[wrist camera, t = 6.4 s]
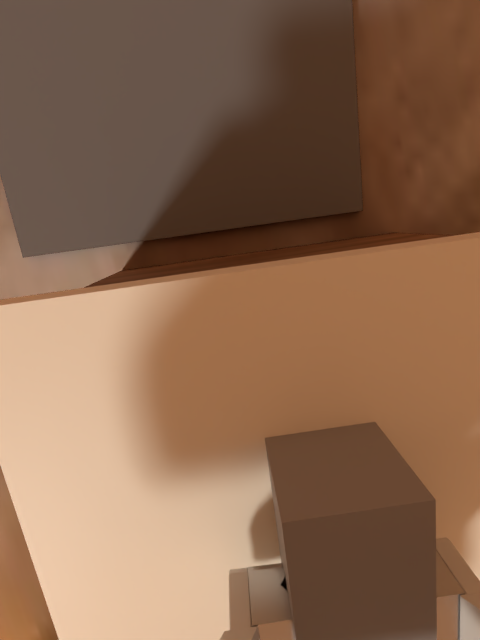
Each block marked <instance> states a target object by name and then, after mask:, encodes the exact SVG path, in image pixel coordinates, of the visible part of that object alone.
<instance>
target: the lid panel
mask: <svg viewBox="0 0 480 640" xmlns="http://www.w3.org/2000/svg"><path fill="white" fill-rule="evenodd" d="M0 465H1V468H2V471H3V474H4V477H5V480H6V483H7V486H8V489H9V492H10V495H11V498H12V501H13V504H14V507H15V510H16V513H17V516H18V519H19V522H20V525H21V528H22V531H23V534H24V537H25V540H26V543H27V546H28V549H29V552H30V555H31V558H32V561H33V564H34V567H35V570H36V573H37V576H38V579H39V582H40V585H41V588H42V591H43V594H44V597H45V600H46V603H47V605H48V608H49V611H50V614H51V617H52V620H53V623H54V626H55V629H56V632H57V635H58V638H59V640H220V638H221V636H222V634H223V632H224V631H228V630H230V621H229V570H231V569H239V568H246V567H247V568H248V567H252V566H261V565H269V564H277V563H283V567H284V573H285V579H286V587H287V592H288V595H289V601H290V606H291V612H292V617H293V624H294V632H295V640H437V597H436V539H439V538H445V537H446V538H448V539H449V540H450V541H451V542H452V544H453V545H454V546H455V548H456V549H457V550H458V552H459V553H460V555H461V556H462V557H463V559H464V560H465V561H466V563H467V564H468V565H469V567H470V568H471V570H472V571H473V572H474V574H475V575H476V576H477V578H478V579H479V581H480V232H476V233H469V234H462V235H455V236H448V237H441V238H434V239H427V240H420V241H413V242H406V243H398V244H391V245H384V246H377V247H370V248H363V249H356V250H349V251H342V252H335V253H328V254H321V255H313V256H306V257H299V258H292V259H285V260H278V261H271V262H264V263H257V264H250V265H243V266H236V267H228V268H221V269H214V270H207V271H200V272H193V273H186V274H179V275H172V276H165V277H158V278H150V279H143V280H136V281H129V282H122V283H115V284H108V285H101V286H94V287H87V288H80V289H73V290H65V291H58V292H51V293H44V294H37V295H30V296H23V297H16V298H9V299H2V300H0Z"/></svg>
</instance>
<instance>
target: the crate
mask: <svg viewBox="0 0 480 640" xmlns="http://www.w3.org/2000/svg"><path fill="white" fill-rule="evenodd" d="M448 236H455V235H434V234H412V233H389V234H382V235H375V236H368V237H360V238H353V239H346V240H339V241H332V242H324V243H317V244H310V245H303V246H296V247H288V248H281V249H274V250H267V251H260V252H252V253H245V254H238V255H231V256H224V257H217V258H209V259H202V260H195V261H188V262H181V263H173V264H166V265H159V266H152V267H145V268H137V269H130V270H123V271H120V272H118V273H115V274H113V275H111V276H109V277H106V278H104V279H102V280H100V281H98V282H95V283H93V284H91V285H89V286H86V287H84V288H87V287H94V286H101V285H108V284H115V283H122V282H129V281H136V280H143V279H150V278H158V277H165V276H172V275H179V274H186V273H193V272H200V271H207V270H214V269H221V268H228V267H236V266H243V265H250V264H257V263H264V262H271V261H278V260H285V259H292V258H299V257H306V256H313V255H321V254H328V253H335V252H342V251H349V250H356V249H363V248H370V247H377V246H384V245H391V244H398V243H406V242H413V241H420V240H427V239H434V238H441V237H448Z"/></svg>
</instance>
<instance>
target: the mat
mask: <svg viewBox="0 0 480 640" xmlns="http://www.w3.org/2000/svg"><path fill="white" fill-rule="evenodd" d="M0 175H1V179H2V182H3V186H4V190H5V193H6V197H7V201H8V204H9V208H10V212H11V215H12V219H13V223H14V226H15V230H16V234H17V237H18V241H19V245H20V248H21V252H22V256H23V257H30V256H38V255H45V254H52V253H59V252H66V251H74V250H81V249H88V248H95V247H103V246H110V245H117V244H124V243H131V242H139V241H146V240H153V239H160V238H168V237H175V236H182V235H189V234H197V233H204V232H211V231H218V230H225V229H233V228H240V227H247V226H254V225H262V224H269V223H276V222H283V221H291V220H298V219H305V218H312V217H319V216H327V215H334V214H341V213H348V212H356V211H363V200H362V181H361V162H360V143H359V123H358V104H357V85H356V66H355V47H354V28H353V8H352V0H0Z"/></svg>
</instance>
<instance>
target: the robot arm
mask: <svg viewBox="0 0 480 640" xmlns="http://www.w3.org/2000/svg"><path fill="white" fill-rule="evenodd" d="M436 597H437V640H480V581H479V579H478V578H477V576H476V575H475V574H474V572H473V571H472V570H471V568H470V567H469V565H468V564H467V563H466V561H465V560H464V559H463V557H462V556H461V555H460V553H459V552H458V550H457V549H456V548H455V546H454V545H453V544H452V542H451V541H450V540H449V539H448V538H446V537H445V538H439V539H436ZM229 621H230V630H228V631H224V632H223V634H222V636H221V638H220V640H295V632H294V624H293V617H292V612H291V606H290V601H289V595H288V592H287V587H286V579H285V573H284V567H283V563H277V564H269V565H261V566H252V567H248V568H247V567H246V568H239V569H231V570H229Z"/></svg>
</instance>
